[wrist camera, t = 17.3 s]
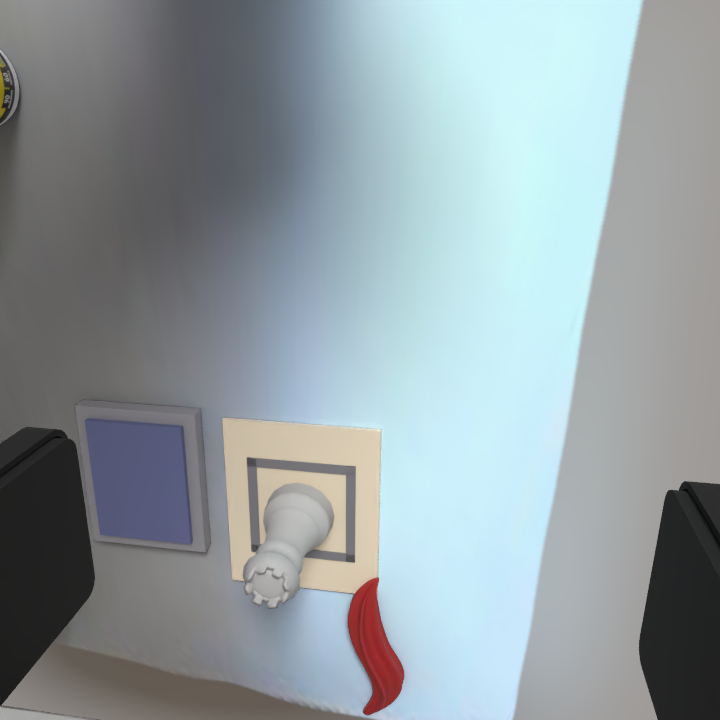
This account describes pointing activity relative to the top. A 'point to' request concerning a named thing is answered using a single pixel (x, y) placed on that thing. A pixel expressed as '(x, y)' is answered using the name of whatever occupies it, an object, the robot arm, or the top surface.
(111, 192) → the top surface
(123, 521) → the ink pad
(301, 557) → the rook chess piece
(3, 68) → the supplement bottle
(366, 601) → the cayenne pepper
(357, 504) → the print card
